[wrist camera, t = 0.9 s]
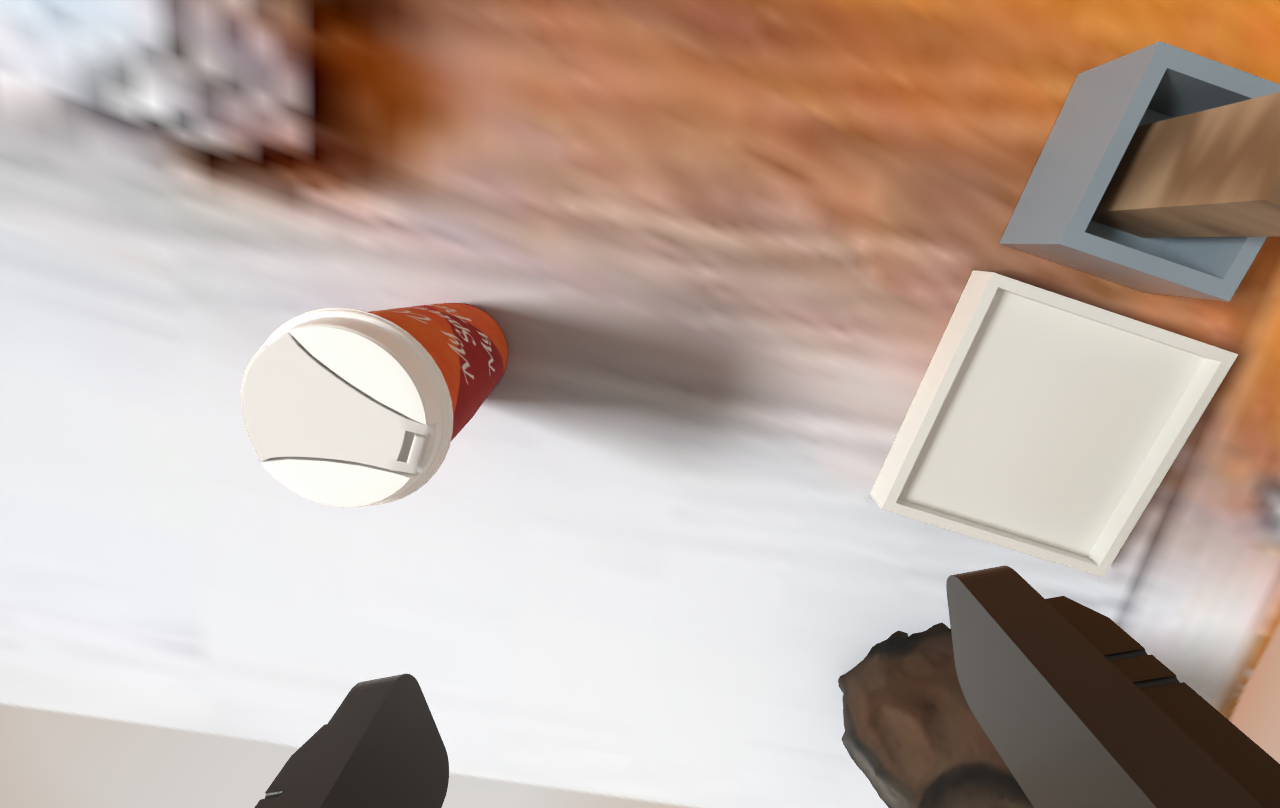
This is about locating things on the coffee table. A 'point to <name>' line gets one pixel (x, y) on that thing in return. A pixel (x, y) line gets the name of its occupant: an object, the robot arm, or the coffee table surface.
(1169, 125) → the walnut peg
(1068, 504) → the cream tray
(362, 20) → the coffee table surface
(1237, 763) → the robot arm
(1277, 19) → the coffee table surface
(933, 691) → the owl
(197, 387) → the coffee table surface
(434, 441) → the paper cup
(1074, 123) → the blue-grey open box
